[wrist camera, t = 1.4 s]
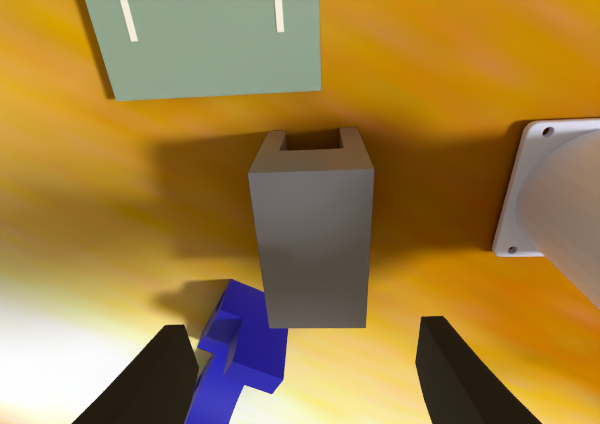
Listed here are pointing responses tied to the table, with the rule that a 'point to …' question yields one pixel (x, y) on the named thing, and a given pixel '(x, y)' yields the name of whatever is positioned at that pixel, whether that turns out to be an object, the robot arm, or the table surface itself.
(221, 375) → the cable clip
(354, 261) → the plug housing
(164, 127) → the table surface
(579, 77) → the table surface
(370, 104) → the table surface
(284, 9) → the board
